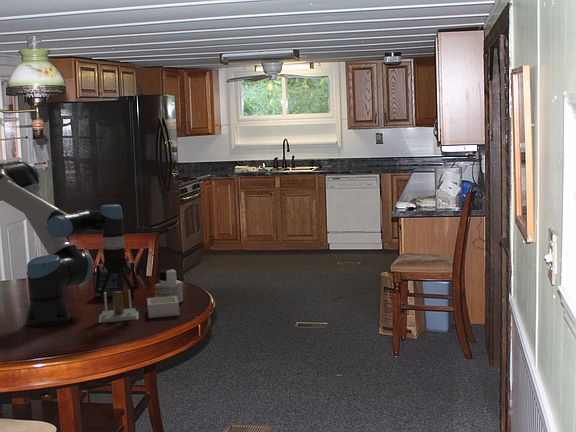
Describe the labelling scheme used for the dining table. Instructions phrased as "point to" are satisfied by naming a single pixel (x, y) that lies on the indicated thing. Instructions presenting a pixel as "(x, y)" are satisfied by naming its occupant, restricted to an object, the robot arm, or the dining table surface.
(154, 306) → the dish
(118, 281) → the small box
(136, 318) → the mat
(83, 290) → the dining table surface
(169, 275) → the container
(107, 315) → the lid
